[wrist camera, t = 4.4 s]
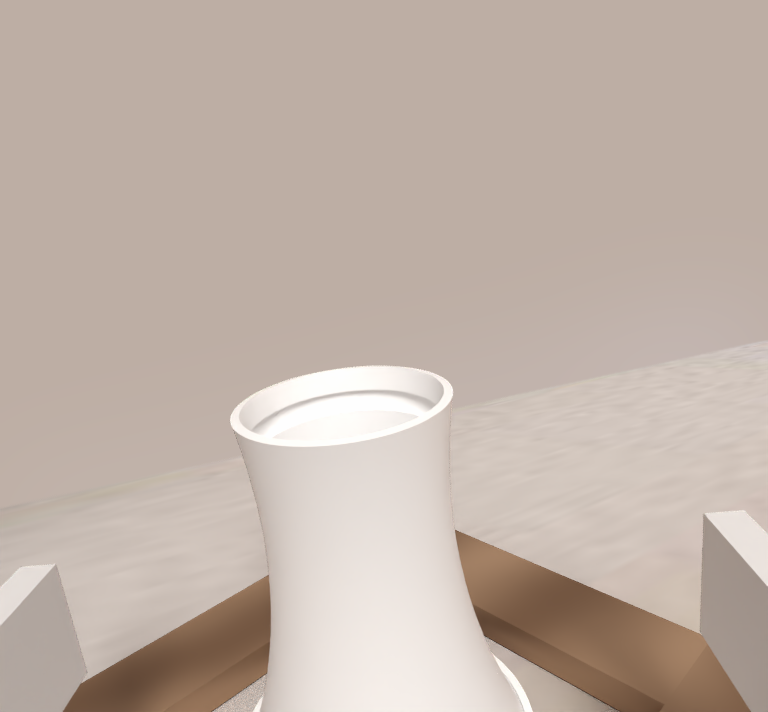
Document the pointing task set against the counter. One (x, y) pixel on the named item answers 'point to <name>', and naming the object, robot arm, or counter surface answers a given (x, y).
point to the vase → (365, 548)
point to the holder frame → (497, 621)
